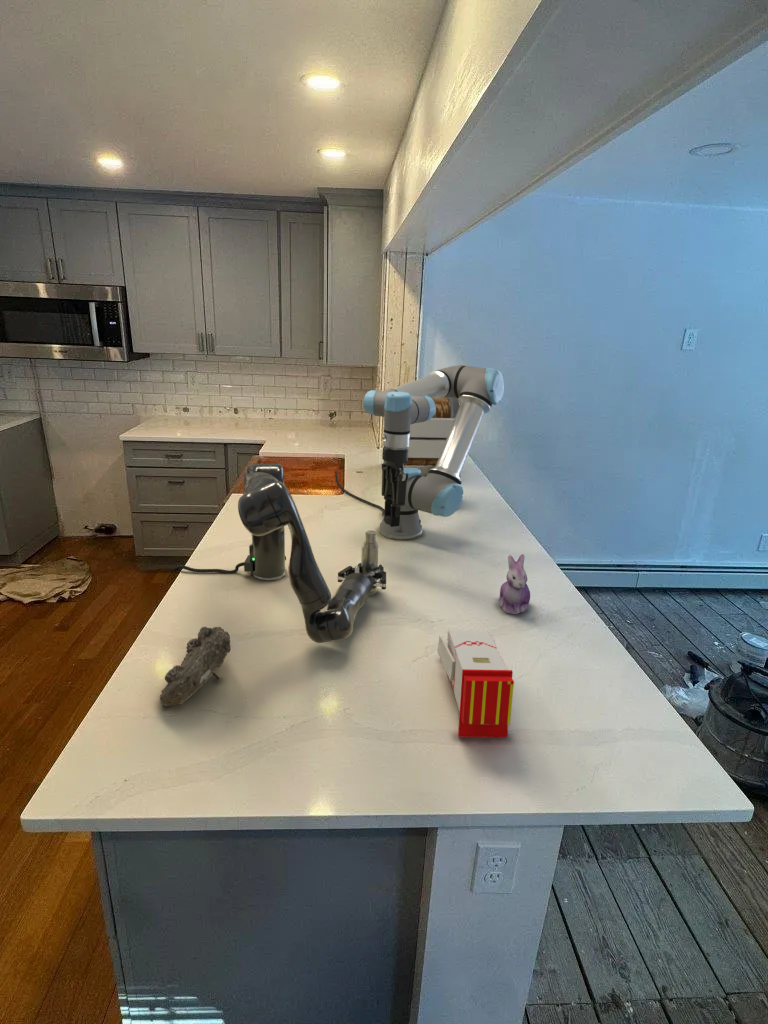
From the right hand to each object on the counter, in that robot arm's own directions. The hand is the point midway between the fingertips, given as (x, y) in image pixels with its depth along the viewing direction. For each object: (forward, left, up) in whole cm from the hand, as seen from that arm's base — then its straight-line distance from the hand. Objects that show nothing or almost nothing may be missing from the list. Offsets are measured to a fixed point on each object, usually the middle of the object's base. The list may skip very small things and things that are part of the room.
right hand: (391, 523), depth 170 cm
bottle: (+9, -16, -14) cm, 23 cm away
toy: (+56, -27, -14) cm, 64 cm away
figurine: (+40, +10, -14) cm, 43 cm away
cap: (0, 0, +2) cm, 2 cm away
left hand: (+8, -14, -8) cm, 17 cm away
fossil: (+19, -69, -14) cm, 72 cm away
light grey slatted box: (-70, +81, -14) cm, 108 cm away
